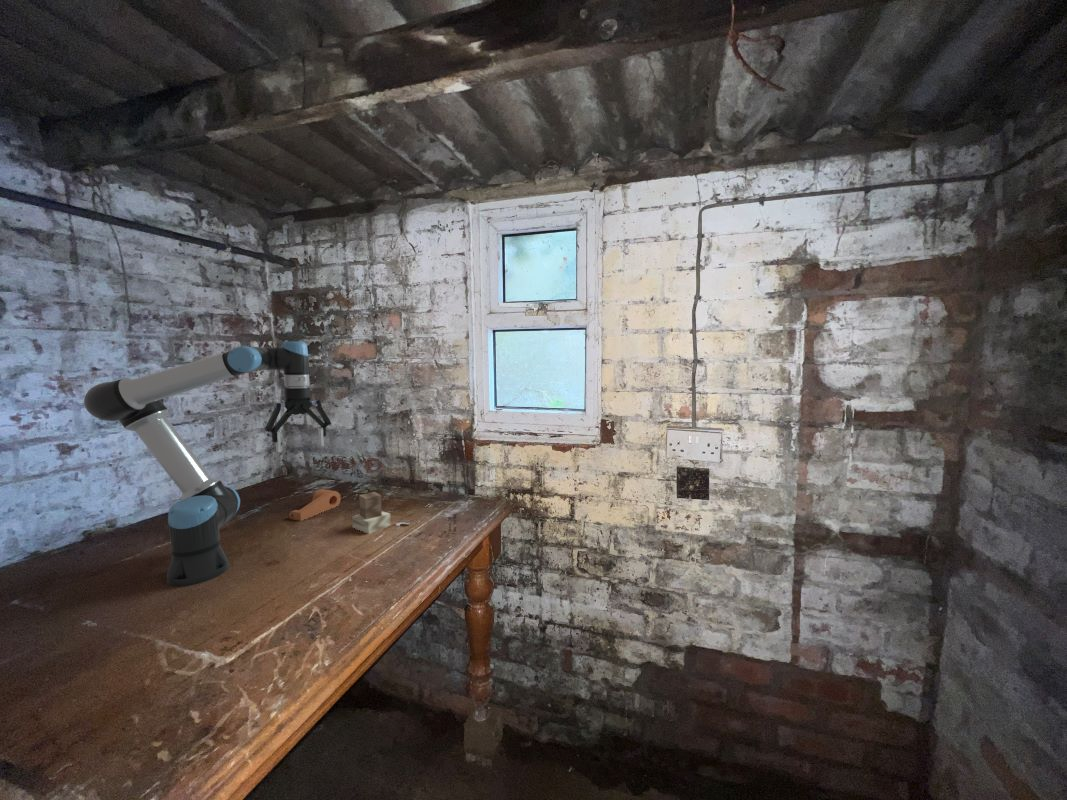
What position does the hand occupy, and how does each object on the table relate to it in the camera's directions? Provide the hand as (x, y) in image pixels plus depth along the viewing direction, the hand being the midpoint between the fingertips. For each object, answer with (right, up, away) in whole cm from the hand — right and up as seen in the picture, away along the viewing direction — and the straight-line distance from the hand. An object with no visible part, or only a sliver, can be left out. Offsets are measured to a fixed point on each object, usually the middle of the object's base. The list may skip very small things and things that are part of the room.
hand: (300, 448), depth 148 cm
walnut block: (+17, -28, +18) cm, 38 cm away
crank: (-12, -32, +35) cm, 48 cm away
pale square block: (+18, -33, +19) cm, 42 cm away
